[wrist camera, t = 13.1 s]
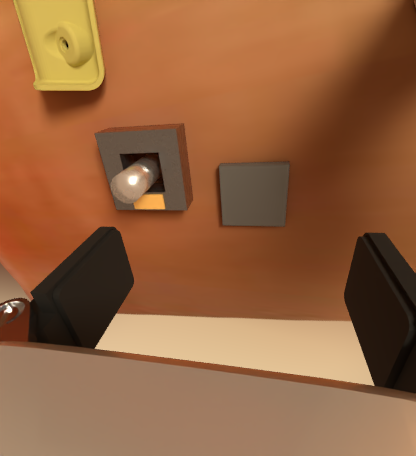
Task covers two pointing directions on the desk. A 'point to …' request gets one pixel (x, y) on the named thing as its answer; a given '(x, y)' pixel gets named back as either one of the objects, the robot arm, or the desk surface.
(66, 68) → the plastic component
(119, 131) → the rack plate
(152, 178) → the peg
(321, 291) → the desk surface
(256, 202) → the pad
